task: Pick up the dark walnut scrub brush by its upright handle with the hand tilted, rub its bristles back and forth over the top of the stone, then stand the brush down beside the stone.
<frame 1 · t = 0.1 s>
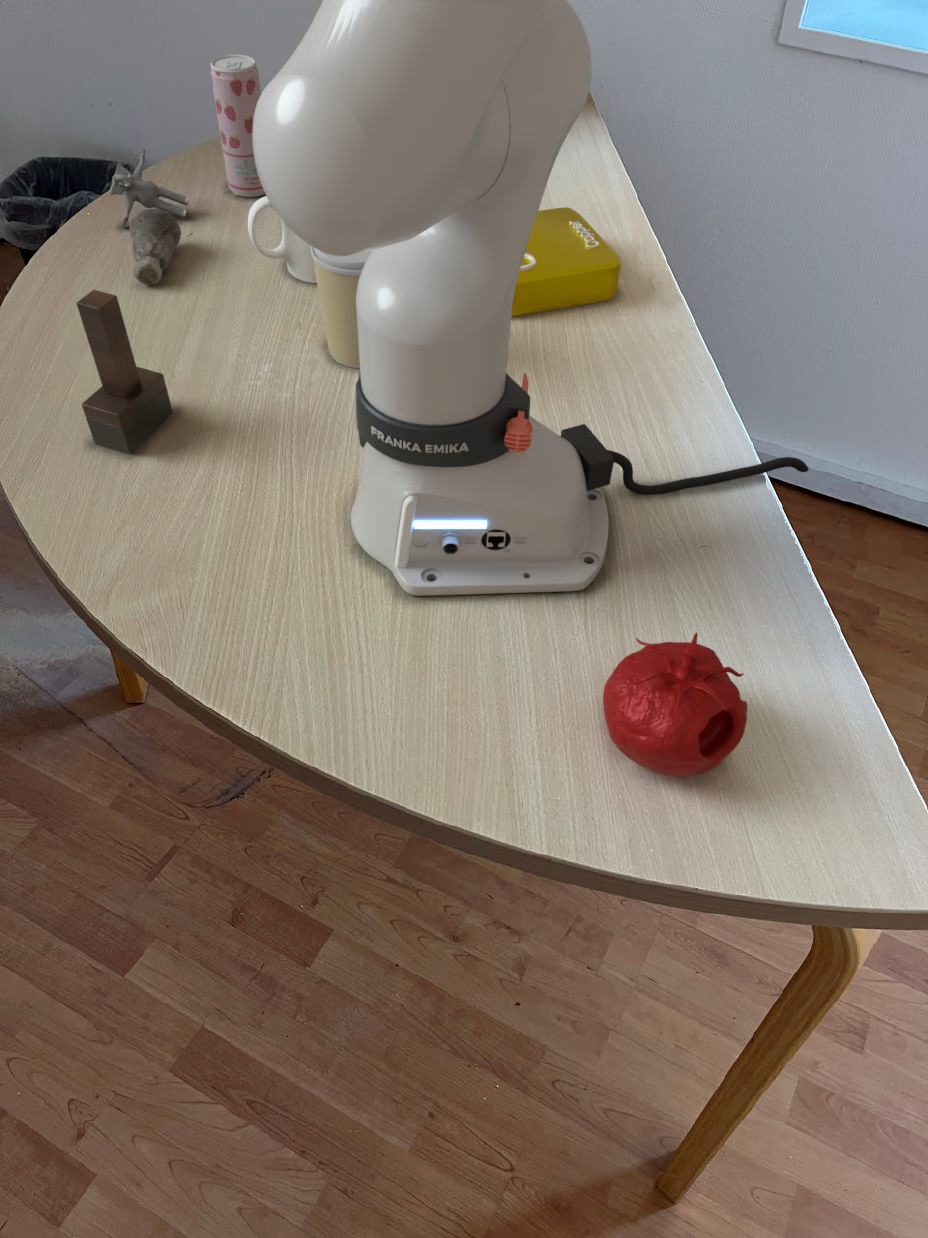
beverage can: (251, 189, 122), on the table
brush: (134, 428, 88), on the table
elephant figurine: (154, 214, 117), on the table
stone: (160, 265, 109), on the table
coffee cup: (365, 349, 99), on the table
red tomato: (663, 735, 67), on the table
element tile: (536, 278, 109), on the table
mug: (306, 270, 109), on the table
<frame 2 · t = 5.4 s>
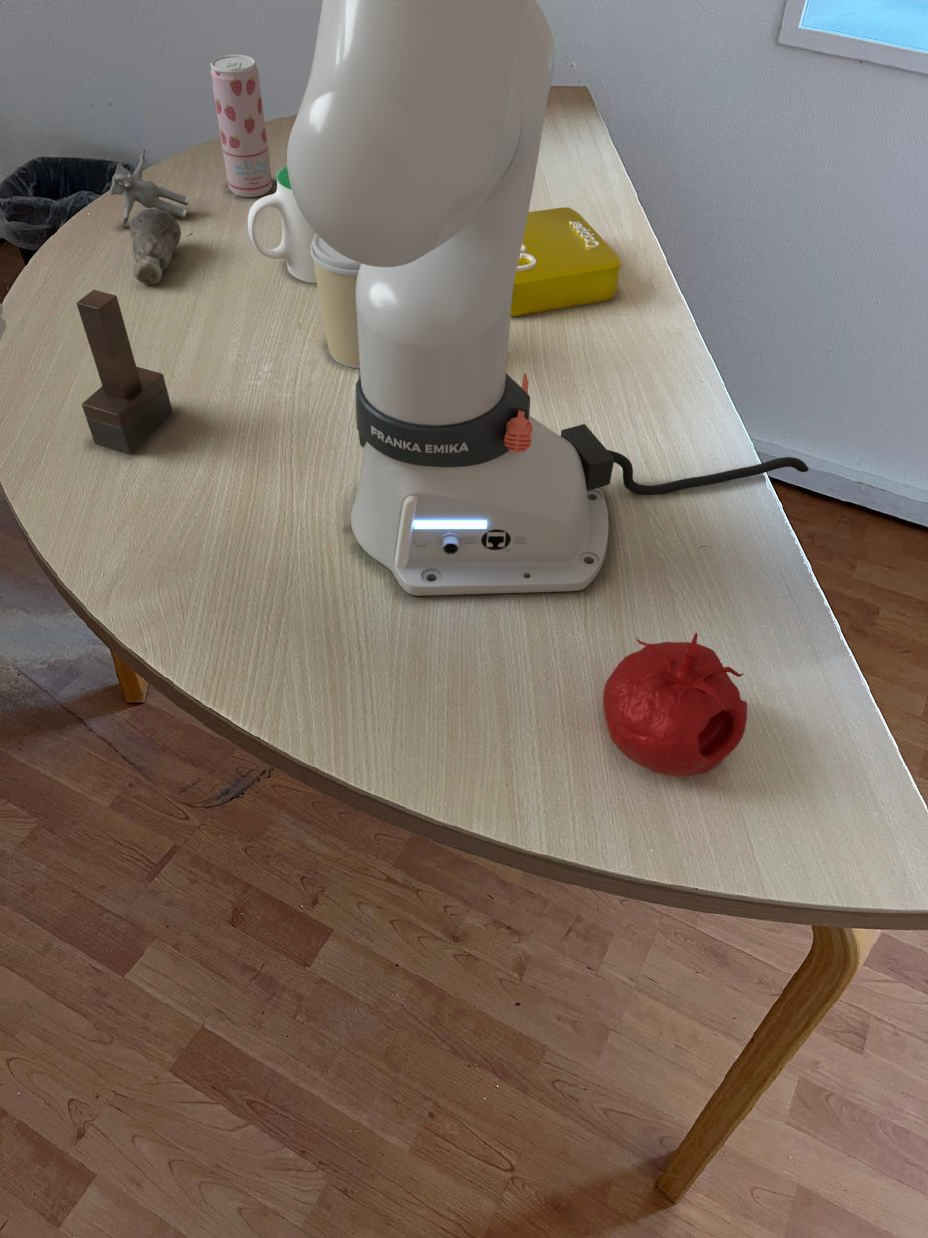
nothing on the table moved.
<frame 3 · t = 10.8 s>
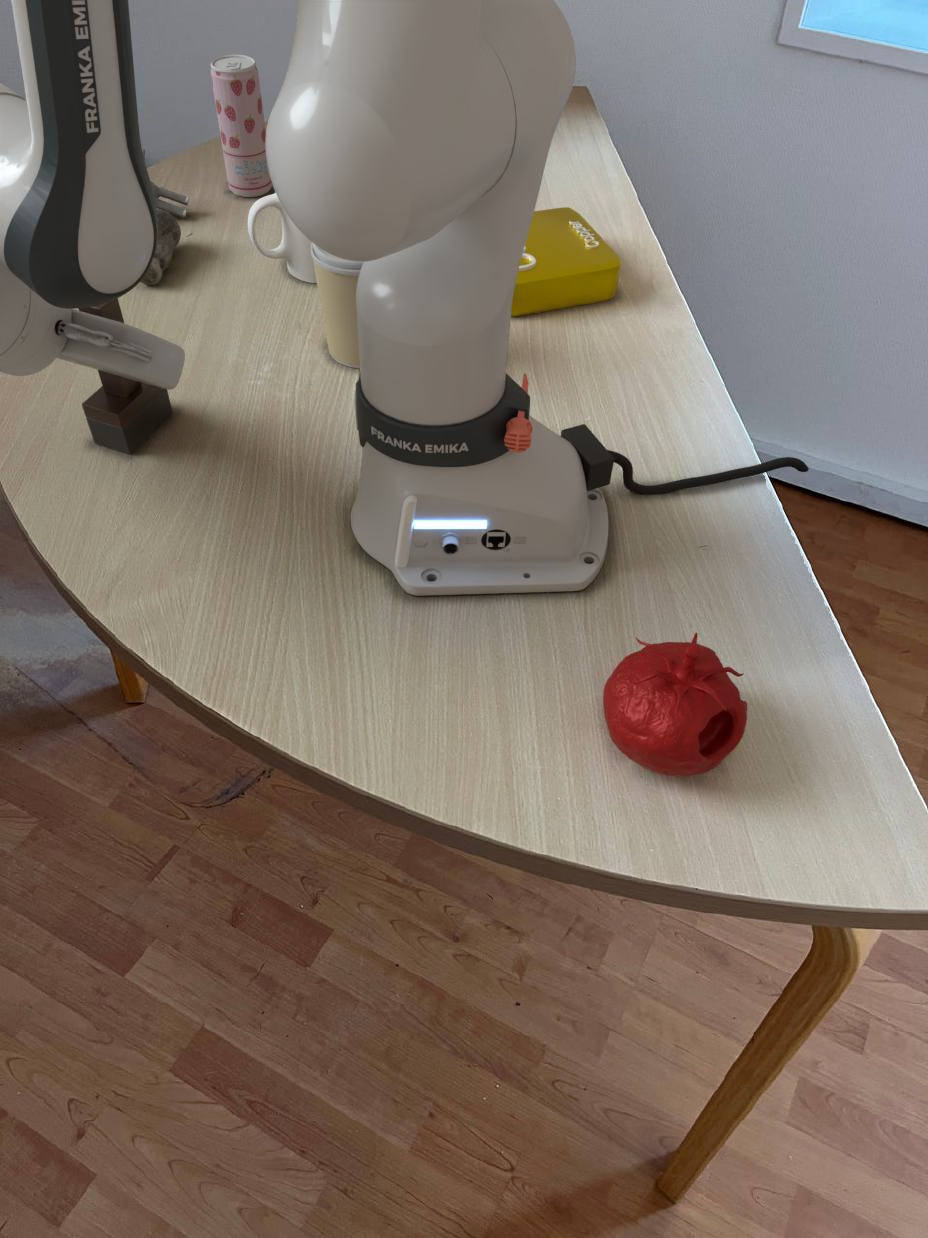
hand: (119, 357, 83), 7 cm above the table, tool tilted 45°, fingers closed on brush, 2 cm apart
brush: (134, 428, 88), on the table, touching gripper
everything else where it was.
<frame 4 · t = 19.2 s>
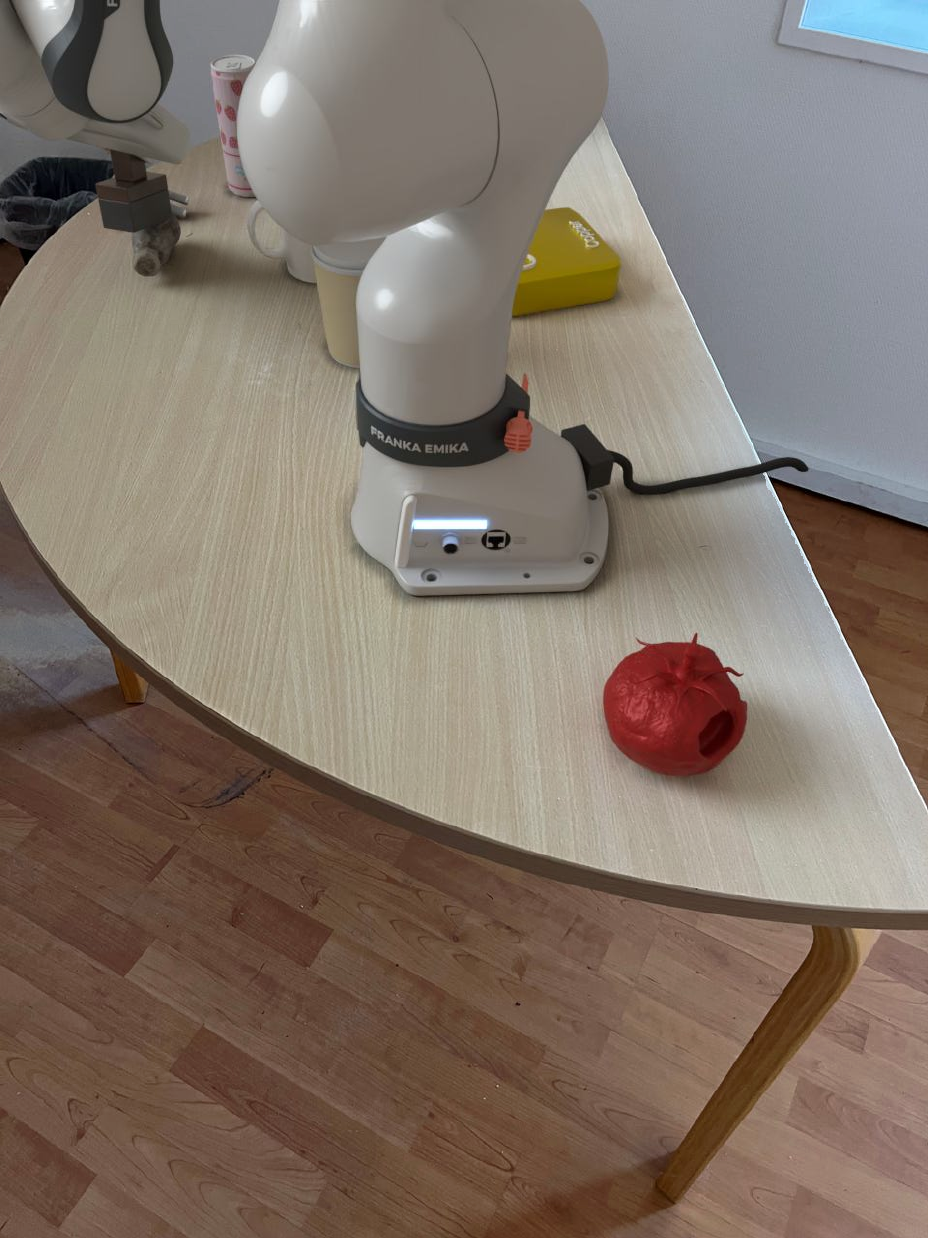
hand: (133, 152, 99), 13 cm above the table, tool tilted 45°, fingers closed on brush, 2 cm apart
brush: (138, 222, 103), point 6 cm above the table, tilted 11°, touching gripper, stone
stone: (159, 262, 108), on the table, touching brush
everything else where it was.
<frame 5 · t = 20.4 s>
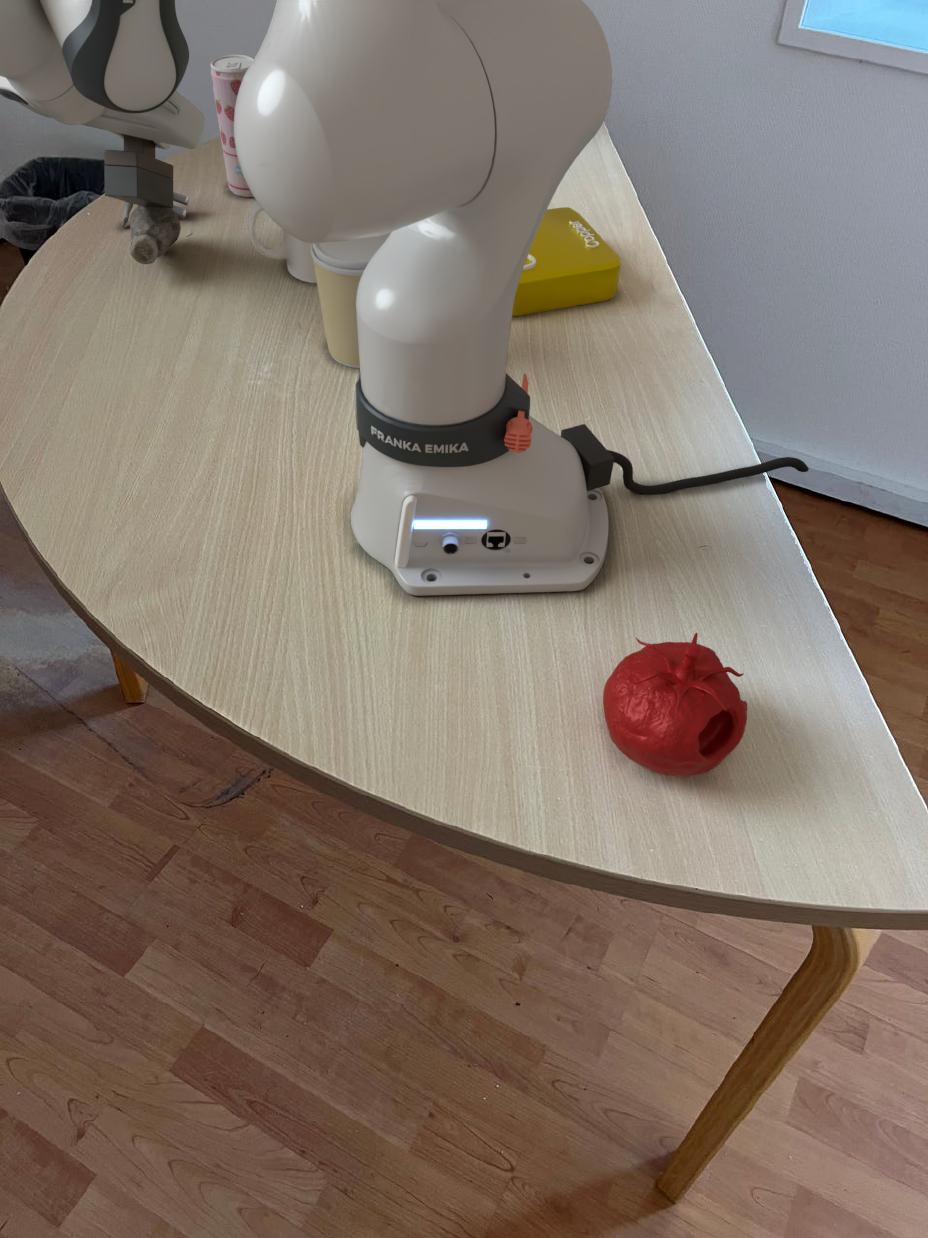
hand: (149, 138, 102), 12 cm above the table, tool tilted 45°, fingers closed on brush, 3 cm apart
brush: (140, 202, 102), point 8 cm above the table, tilted 33°, touching gripper, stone
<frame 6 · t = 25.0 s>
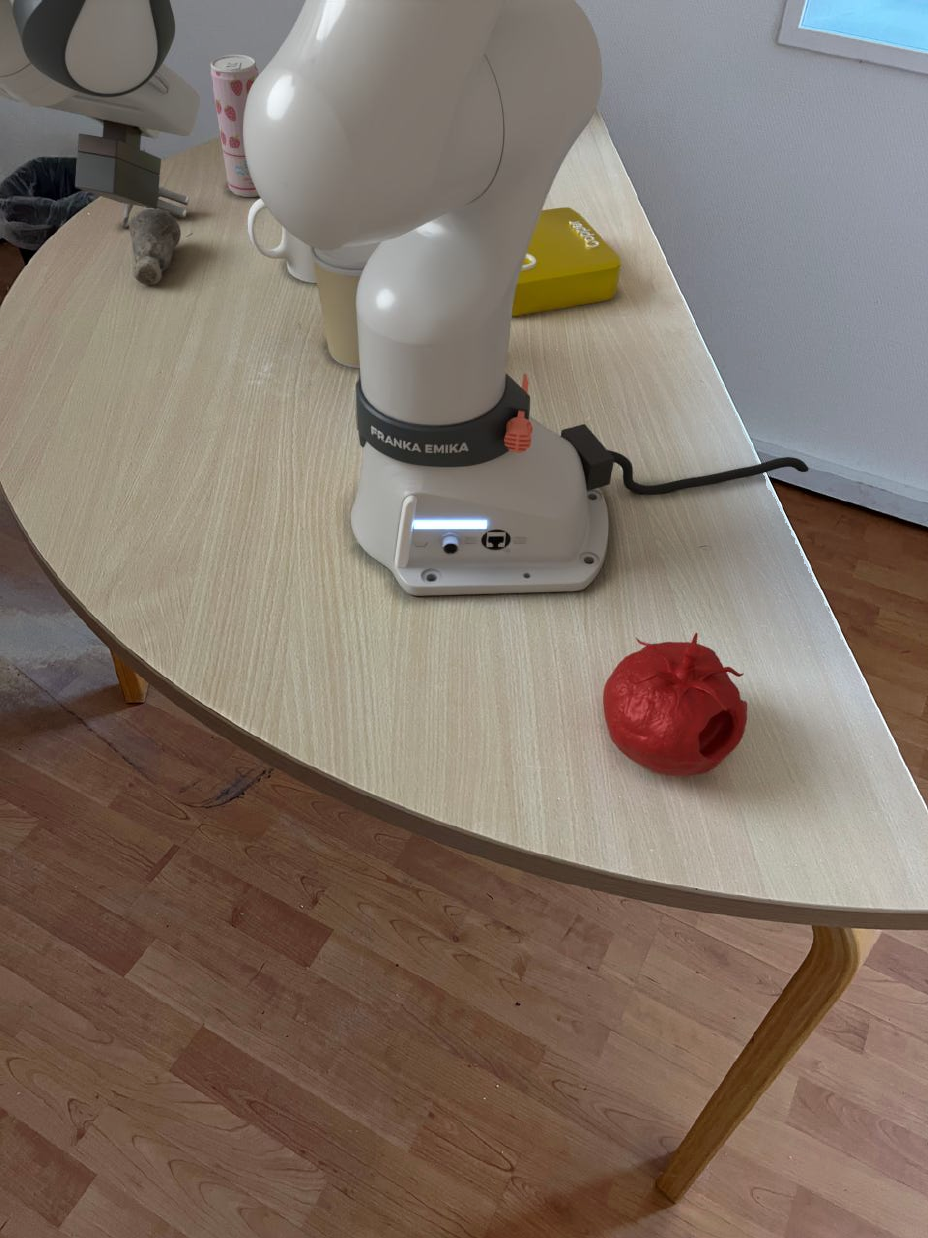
hand: (135, 125, 86), 20 cm above the table, tool tilted 45°, fingers closed on brush, 2 cm apart
brush: (117, 198, 86), point 15 cm above the table, tilted 34°, touching gripper
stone: (160, 265, 109), on the table
everything else where it was.
when the fingers open (6 cm above the table, at t = 29.4 s): brush drops 2 cm, on the table.
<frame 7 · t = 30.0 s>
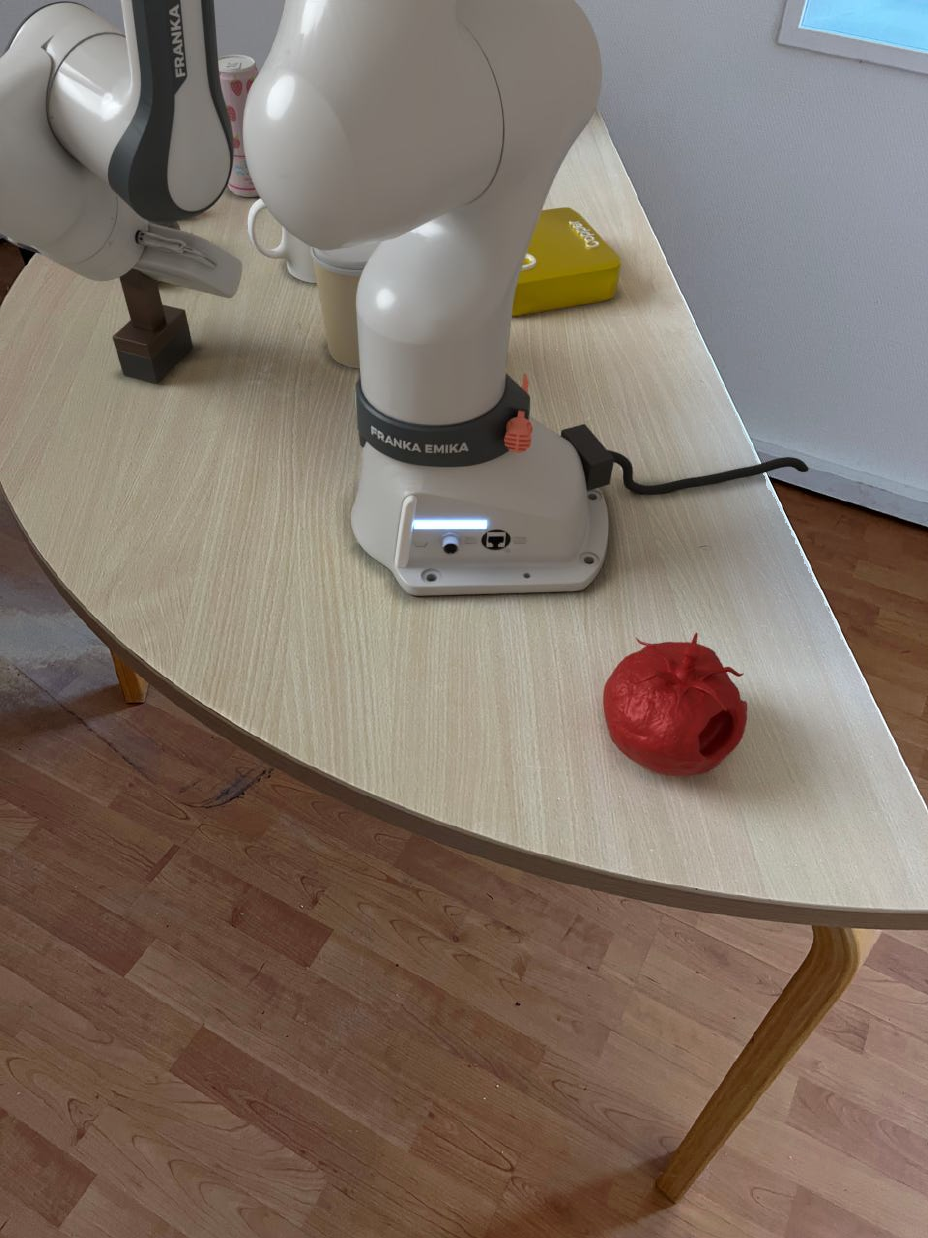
hand: (179, 276, 94), 7 cm above the table, tool tilted 45°, fingers open, 8 cm apart
brush: (159, 361, 96), on the table
everything else where it was.
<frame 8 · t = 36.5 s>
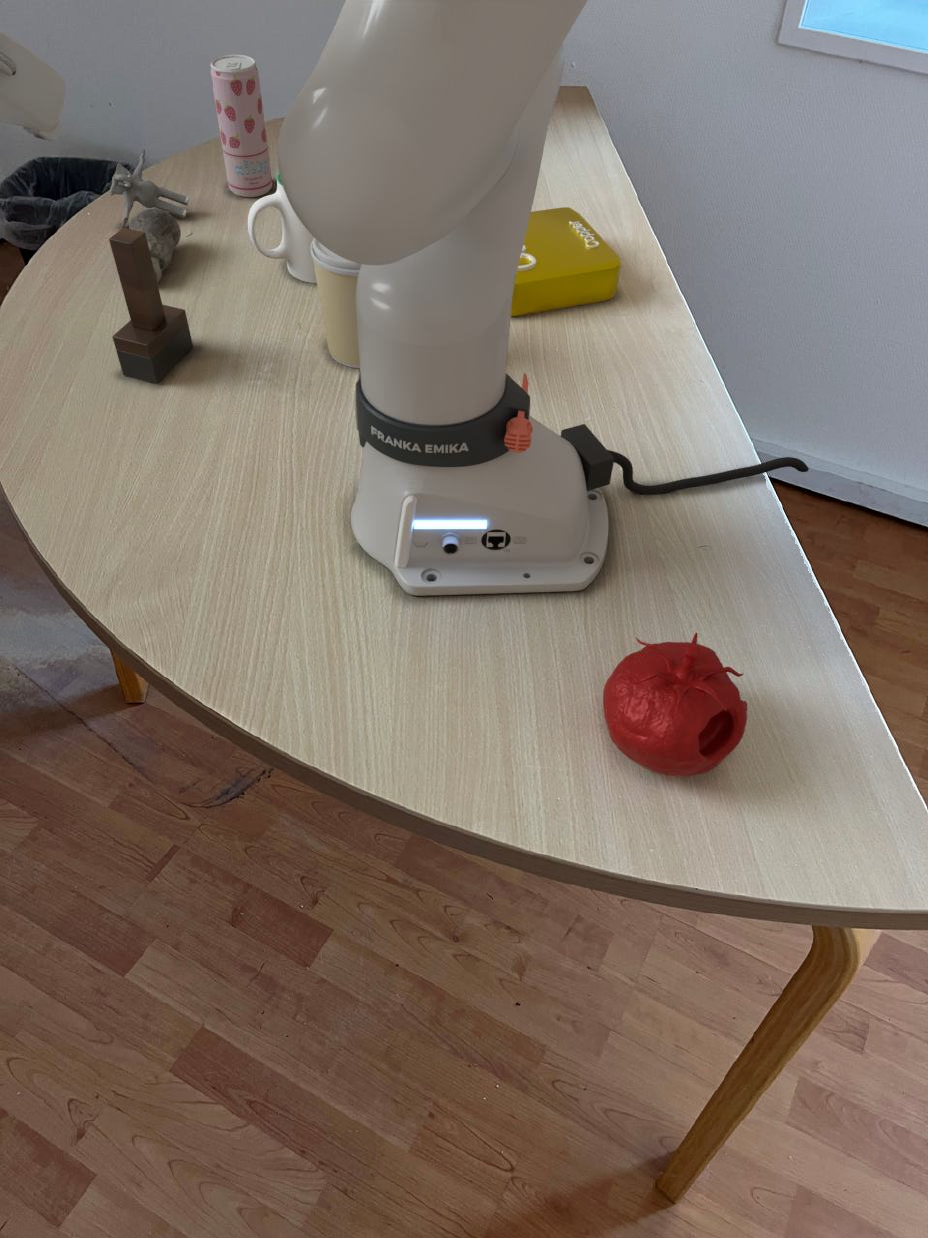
nothing on the table moved.
at the end: brush inside the target area (4.2 cm from its centre), on the table; brush tilted 0°; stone moved 0.2 cm from its start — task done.
